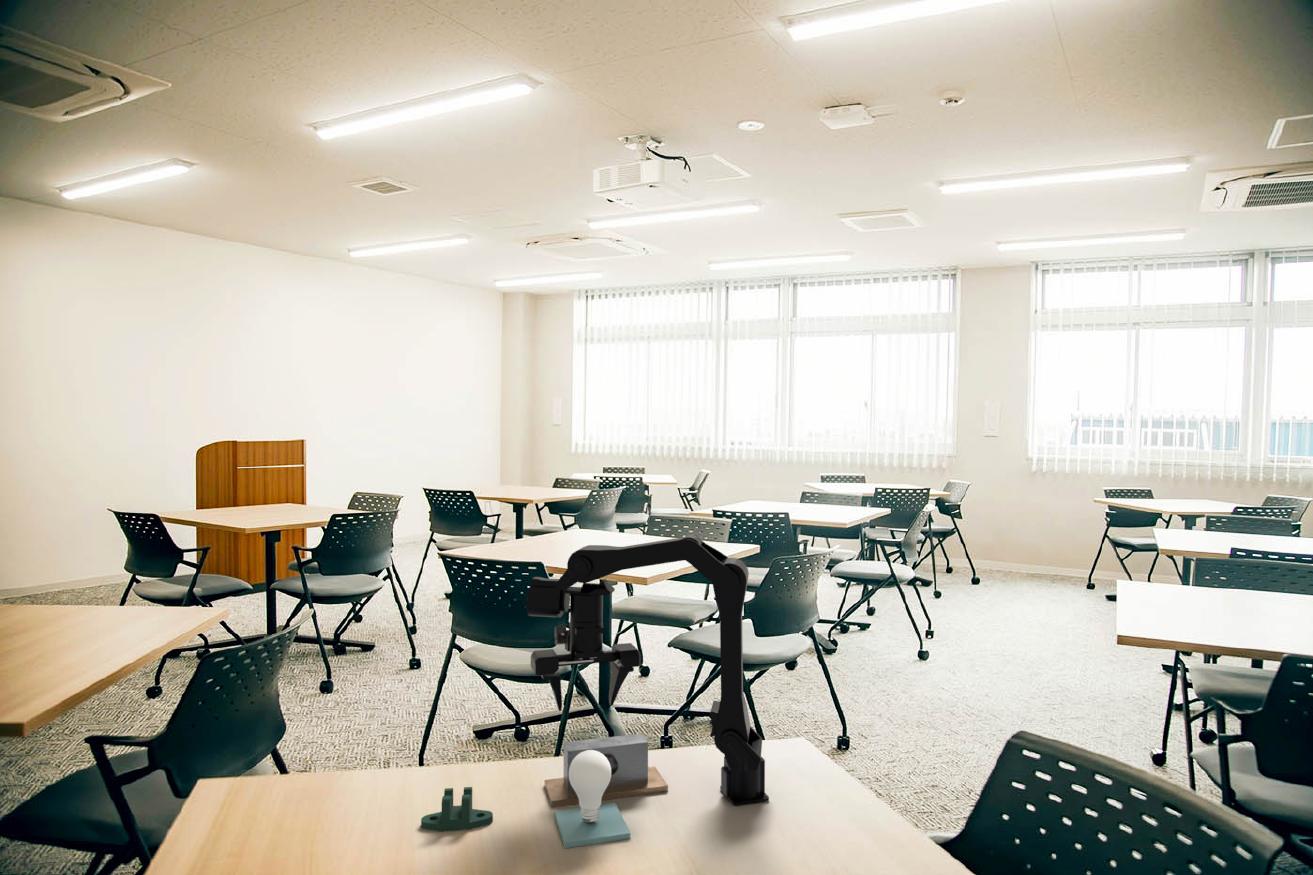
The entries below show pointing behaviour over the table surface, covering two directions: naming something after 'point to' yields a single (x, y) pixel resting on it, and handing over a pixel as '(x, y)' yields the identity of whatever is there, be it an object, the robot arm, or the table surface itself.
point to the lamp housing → (625, 769)
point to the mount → (457, 814)
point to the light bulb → (590, 782)
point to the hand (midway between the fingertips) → (585, 707)
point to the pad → (591, 826)
